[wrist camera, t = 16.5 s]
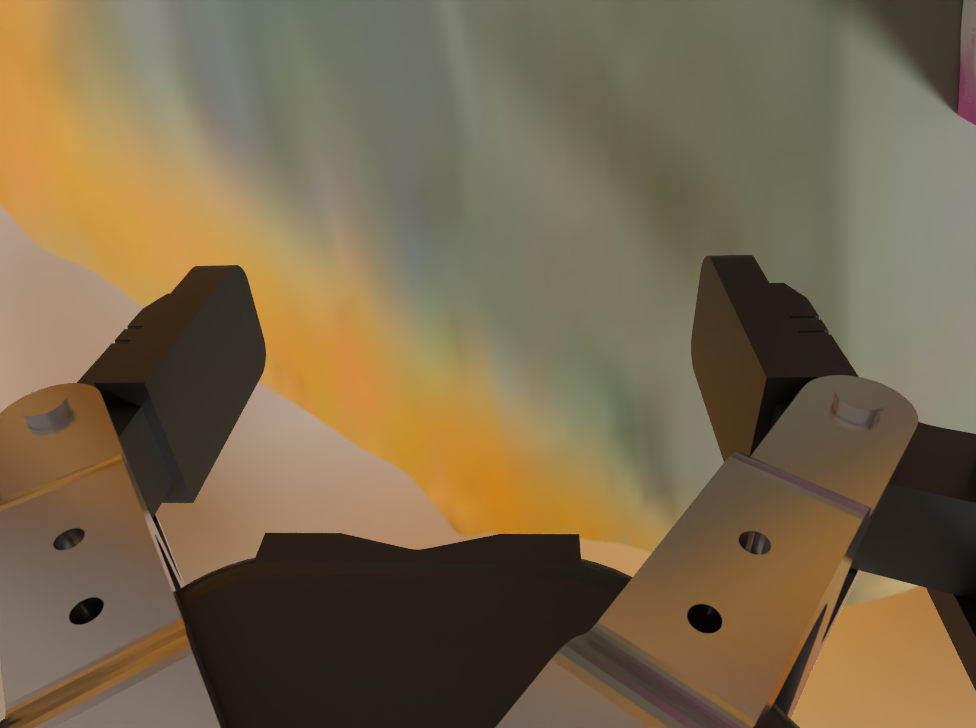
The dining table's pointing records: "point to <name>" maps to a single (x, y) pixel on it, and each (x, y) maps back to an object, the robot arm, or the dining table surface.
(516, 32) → the dining table surface
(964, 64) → the gum box
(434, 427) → the dining table surface
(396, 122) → the dining table surface
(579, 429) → the dining table surface
